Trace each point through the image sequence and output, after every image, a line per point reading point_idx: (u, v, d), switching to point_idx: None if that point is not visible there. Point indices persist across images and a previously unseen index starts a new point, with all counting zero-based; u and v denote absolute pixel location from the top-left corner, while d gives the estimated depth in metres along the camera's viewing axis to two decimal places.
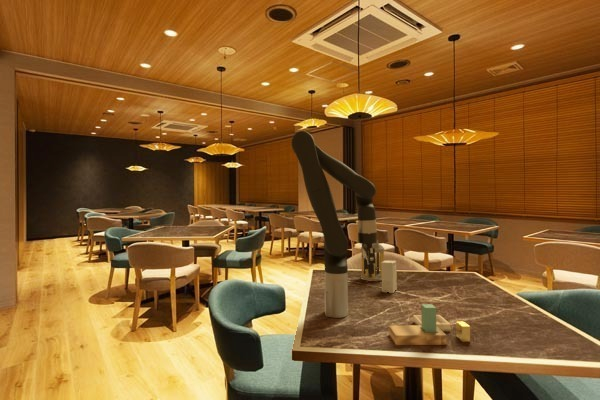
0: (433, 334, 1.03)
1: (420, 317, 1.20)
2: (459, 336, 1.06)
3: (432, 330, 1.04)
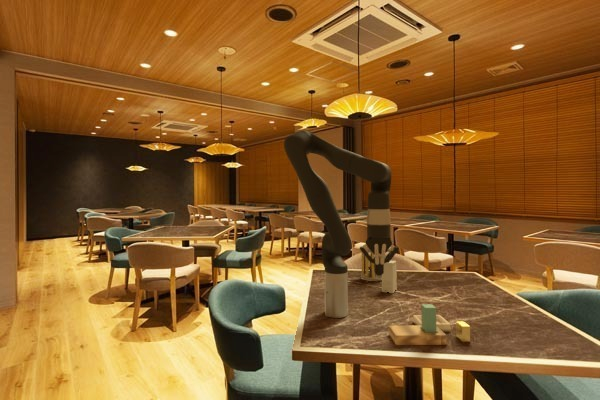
0: (433, 334, 1.03)
1: (420, 317, 1.20)
2: (459, 336, 1.06)
3: (432, 330, 1.04)
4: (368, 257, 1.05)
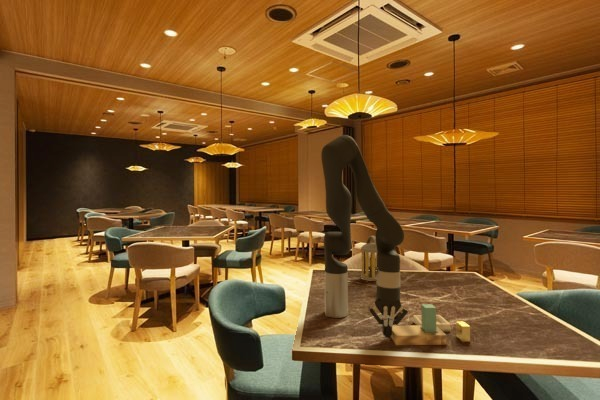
0: (433, 334, 1.03)
1: (420, 317, 1.20)
2: (459, 336, 1.06)
3: (432, 330, 1.04)
4: (377, 318, 1.05)
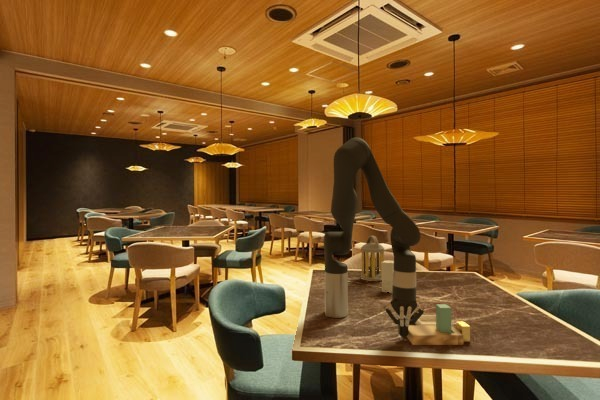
0: (450, 334, 1.03)
1: (420, 317, 1.20)
2: None
3: (447, 330, 1.04)
4: (393, 319, 1.05)
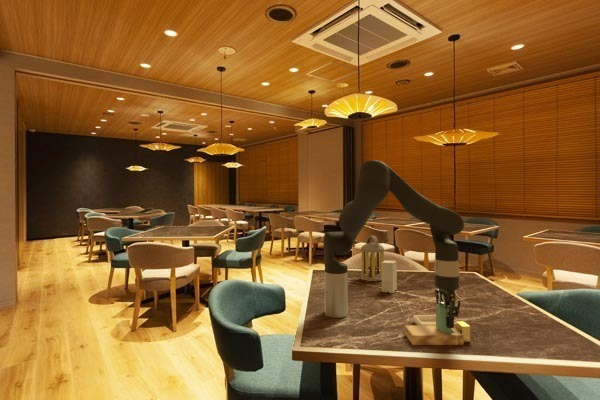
0: (450, 334, 1.03)
1: (420, 317, 1.20)
2: None
3: (447, 330, 1.04)
4: None
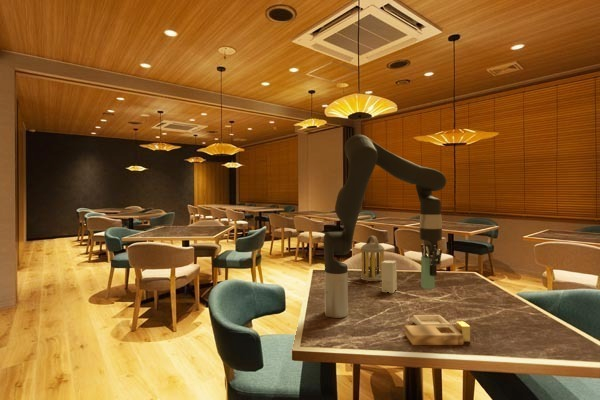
0: (450, 334, 1.03)
1: (420, 317, 1.20)
2: None
3: (430, 279, 1.15)
4: None
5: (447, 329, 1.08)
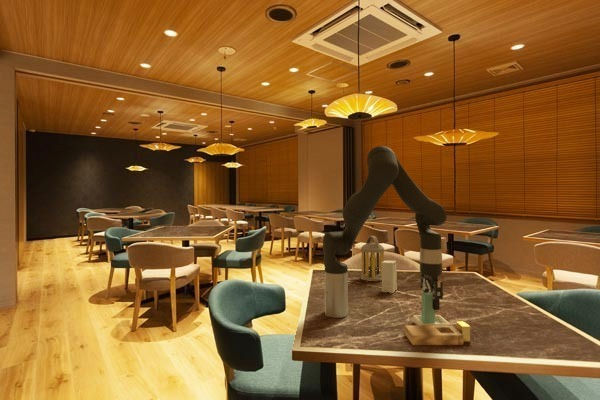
0: (450, 334, 1.03)
1: (420, 317, 1.20)
2: None
3: (431, 316, 1.15)
4: None
5: (447, 329, 1.08)
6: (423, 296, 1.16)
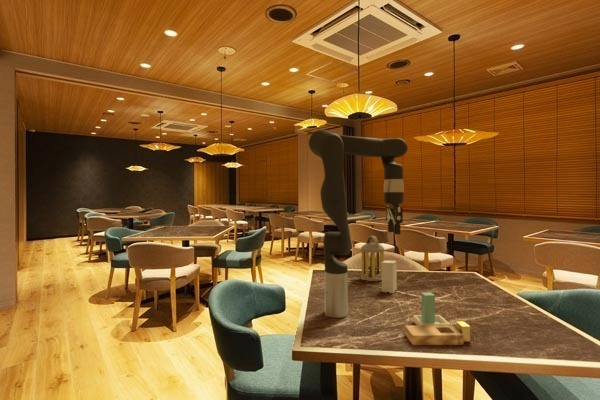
0: (450, 334, 1.03)
1: (420, 317, 1.20)
2: None
3: (431, 316, 1.15)
4: None
5: (447, 329, 1.08)
6: (423, 296, 1.16)
